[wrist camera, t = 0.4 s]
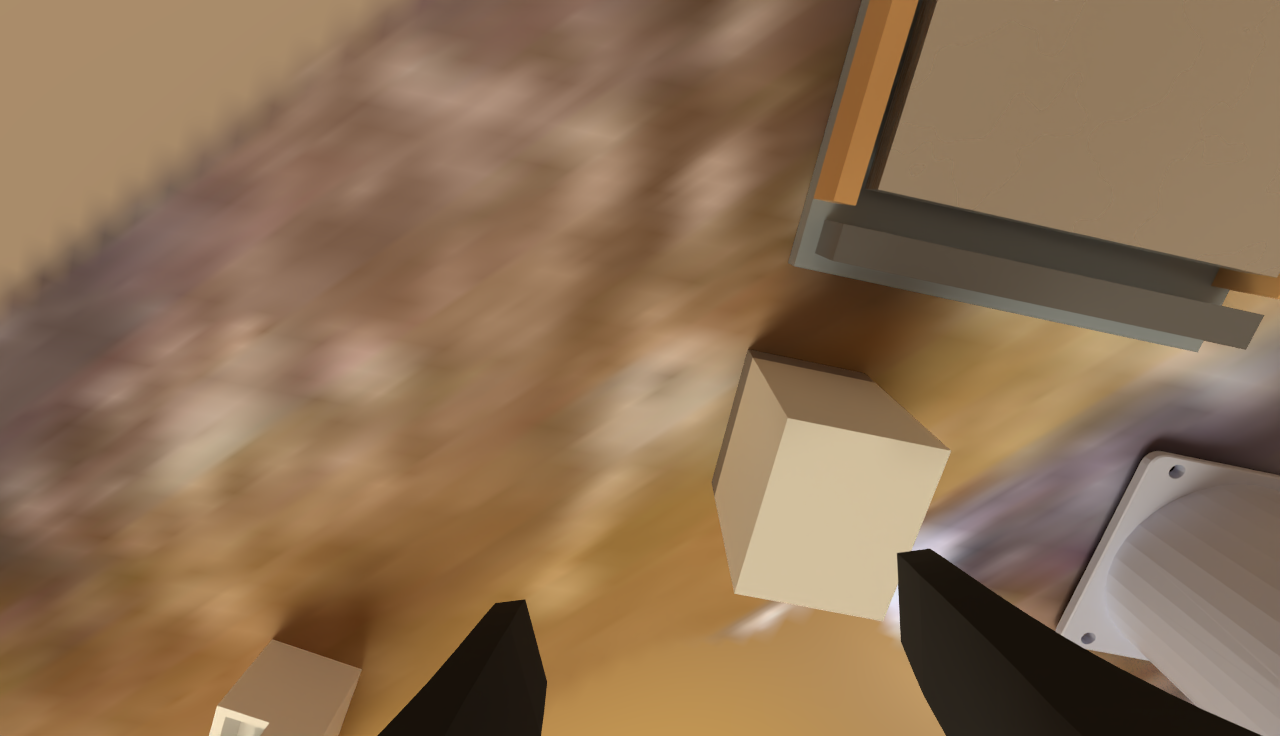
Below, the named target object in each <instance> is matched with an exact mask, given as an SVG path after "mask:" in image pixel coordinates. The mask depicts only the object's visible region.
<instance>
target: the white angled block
mask: <svg viewBox="0 0 1280 736" xmlns="http://www.w3.org/2000/svg"><path fill="white" fill-rule="evenodd" d="M361 671H362V669H360V668H357V667H354V666H351V665H348V664H345V663H342V662H339V661H336V660H333V659H330V658H327V657H324V656H321V655H318V654H315V653H312V652H309V651H306V650H303V649H300V648H297V647H294V646H291V645H288V644H285V643H282V642H279V641H276V640H273V639H272V640H271V641H270V642H269V644H268V645H267V646H266V647H265V648H264V650H263V651H262V652H261V653H260V654H259V656H258V657H257V658H256V659H255V661H254V662H253V663H252V664H251V665H250V667H249V668H248V669H247V670H246V671H245V673H244V674H243V675H242V676H241V678H240V679H239V680H238V681H237V682H236V684H235V685H234V686H233V687H232V688H231V690H230V691H229V692H228V693H227V694H226V696H225V697H224V698H223V699H222V701H221V702H220V703H219V704H218V705H217V708H216V712H215V716H214V719H213V723H212V727H211V731H210V734H209V736H338V735H339V733H340V730H341V727H342V724H343V721H344V719H345V716H346V713H347V710H348V707H349V705H350V702H351V699H352V696H353V693H354V691H355V688H356V685H357V682H358V679H359V677H360V674H361Z"/></svg>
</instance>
